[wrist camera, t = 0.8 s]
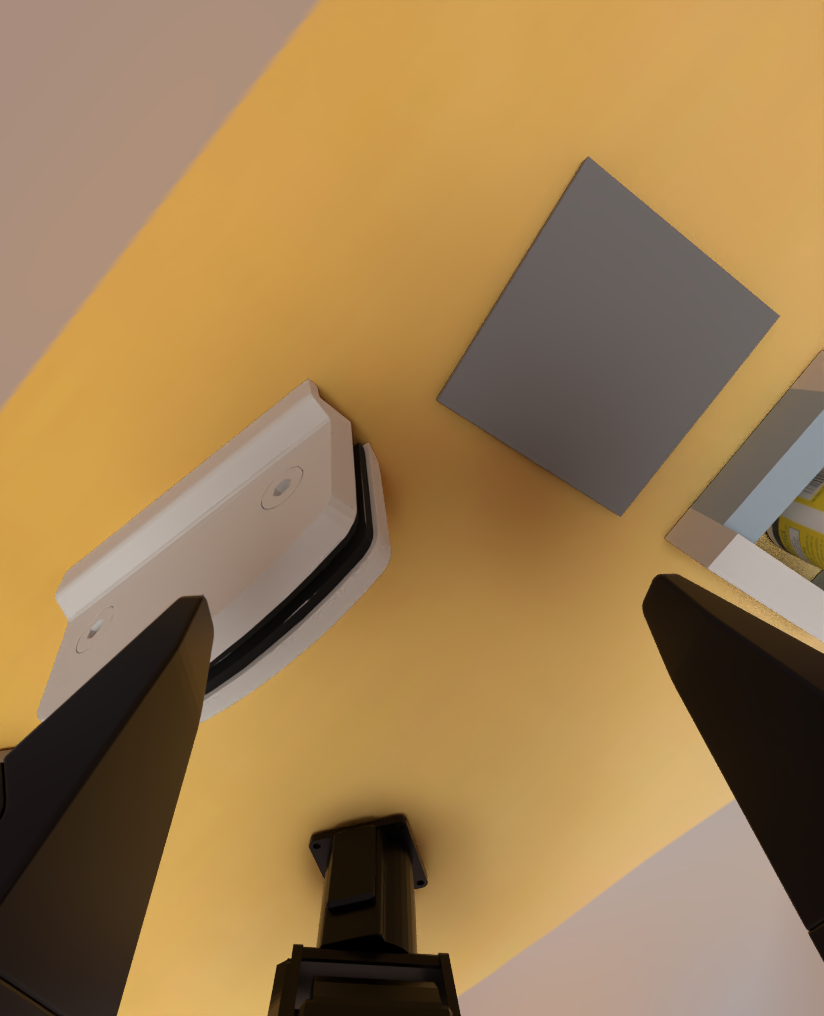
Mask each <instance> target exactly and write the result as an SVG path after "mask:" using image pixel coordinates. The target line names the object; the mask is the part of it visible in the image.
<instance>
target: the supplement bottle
mask: <svg viewBox="0 0 824 1016" xmlns="http://www.w3.org/2000/svg"><path fill="white" fill-rule="evenodd" d="M767 533H768V535H769V537H770V538H771V540H772V541H773V542H774V543H775V544H776V545H777V546H778V547H780V548H781V549H783V550H784V551H786V552H788V553H790V554H792V555H794V556H796V557H798V558H800V559H802V560H804V561H806V562H808V563H810V564H812V565H814V566H816V567H818V568H820V569H822V570H824V467H823V468H822V469H821V471H820V472H819V473H818V474H817V475H816V476H815V477H814V478H813V479H812V480H811V482H810V483H809V484H808V485H807V486H806V487H805V488H804V489H803V490H802V492H801V493H800V494H799V495H798V496H797V497H796V498H795V499H794V500H793V502H792V503H791V504H790V505H789V506H788V507H787V508H786V509H785V510H784V512H783V513H782V514H781V515H780V516H779V517H778V518H777V519H776V520H775V521H774V523H773V524H772V525H771V526H770V527H769V528H768V529H767Z"/></svg>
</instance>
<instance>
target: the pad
mask: <svg viewBox="0 0 824 1016" xmlns="http://www.w3.org/2000/svg"><path fill="white" fill-rule="evenodd" d="M779 317H780V316H779V315H778V314H777V313H776V312H774V311H773V310H772V309H771V308H770V307H768V306H767V305H766V304H765V303H764V302H762V301H761V300H760V299H759V298H758V297H756V296H755V295H754V294H753V293H752V292H750V291H749V290H748V289H747V288H746V287H744V286H743V285H742V284H741V283H740V282H738V281H737V280H736V279H735V278H734V277H732V276H731V275H730V274H729V273H728V272H726V271H725V270H724V269H723V268H722V267H720V266H719V265H718V264H717V263H716V262H714V261H713V260H712V259H711V258H710V257H708V256H707V255H706V254H705V253H704V252H702V251H701V250H700V249H699V248H698V247H696V246H695V245H694V244H693V243H692V242H690V241H689V240H688V239H687V238H686V237H684V236H683V235H682V234H681V233H680V232H678V231H677V230H676V229H675V228H674V227H672V226H671V225H670V224H669V223H668V222H666V221H665V220H664V219H663V218H662V217H660V216H659V215H658V214H657V213H656V212H654V211H653V210H652V209H651V208H650V207H648V206H647V205H646V204H645V203H644V202H642V201H641V200H640V199H639V198H638V197H636V196H635V195H634V194H633V193H632V192H630V191H629V190H628V189H627V188H626V187H624V186H623V185H622V184H621V183H620V182H618V181H617V180H616V179H615V178H614V177H612V176H611V175H610V174H609V173H608V172H606V171H605V170H604V169H603V168H602V167H600V166H599V165H598V164H597V163H596V162H594V161H593V160H592V159H591V158H590V157H587V158H586V159H585V160H584V161H583V162H582V164H581V166H580V167H579V169H578V171H577V172H576V174H575V175H574V177H573V179H572V180H571V182H570V183H569V185H568V187H567V188H566V190H565V192H564V193H563V195H562V196H561V198H560V200H559V201H558V203H557V204H556V206H555V208H554V209H553V211H552V213H551V214H550V216H549V217H548V219H547V221H546V222H545V224H544V226H543V227H542V229H541V230H540V232H539V234H538V235H537V237H536V238H535V240H534V242H533V243H532V245H531V247H530V248H529V250H528V251H527V253H526V255H525V256H524V258H523V260H522V261H521V263H520V264H519V266H518V268H517V269H516V271H515V272H514V274H513V276H512V277H511V279H510V281H509V282H508V284H507V285H506V287H505V289H504V290H503V292H502V294H501V295H500V297H499V298H498V300H497V302H496V303H495V305H494V306H493V308H492V310H491V311H490V313H489V315H488V316H487V318H486V319H485V321H484V323H483V324H482V326H481V328H480V329H479V331H478V332H477V334H476V336H475V337H474V339H473V340H472V342H471V344H470V345H469V347H468V349H467V350H466V352H465V353H464V355H463V357H462V358H461V360H460V362H459V363H458V365H457V366H456V368H455V370H454V371H453V373H452V374H451V376H450V378H449V379H448V381H447V383H446V384H445V386H444V387H443V389H442V391H441V392H440V394H439V396H438V397H437V399H436V400H437V401H439V402H440V403H442V404H443V405H445V406H446V407H448V408H450V409H451V410H453V411H454V412H456V413H457V414H459V415H461V416H462V417H464V418H465V419H467V420H468V421H470V422H472V423H473V424H475V425H476V426H478V427H480V428H481V429H483V430H484V431H486V432H487V433H489V434H491V435H492V436H494V437H495V438H497V439H498V440H500V441H502V442H503V443H505V444H506V445H508V446H510V447H511V448H513V449H514V450H516V451H517V452H519V453H521V454H522V455H524V456H525V457H527V458H528V459H530V460H532V461H533V462H535V463H536V464H538V465H539V466H541V467H543V468H544V469H546V470H547V471H549V472H551V473H552V474H554V475H555V476H557V477H558V478H560V479H562V480H563V481H565V482H566V483H568V484H569V485H571V486H573V487H574V488H576V489H577V490H579V491H580V492H582V493H584V494H585V495H587V496H588V497H590V498H592V499H593V500H595V501H596V502H598V503H599V504H601V505H603V506H604V507H606V508H607V509H609V510H610V511H612V512H614V513H615V514H617V515H618V516H620V517H621V516H622V515H623V513H624V512H625V511H626V509H627V508H628V507H629V506H630V504H631V503H632V502H633V501H634V499H635V498H636V497H637V496H638V494H639V493H640V492H641V491H642V489H643V488H644V487H645V486H646V484H647V483H648V482H649V481H650V479H651V478H652V477H653V475H654V474H655V473H656V472H657V470H658V469H659V468H660V467H661V465H662V464H663V463H664V462H665V460H666V459H667V458H668V457H669V455H670V454H671V453H672V452H673V450H674V449H675V448H676V447H677V445H678V444H679V443H680V441H681V440H682V439H683V438H684V436H685V435H686V434H687V433H688V431H689V430H690V429H691V428H692V426H693V425H694V424H695V423H696V421H697V420H698V419H699V418H700V416H701V415H702V414H703V413H704V411H705V410H706V409H707V408H708V406H709V405H710V404H711V402H712V401H713V400H714V399H715V397H716V396H717V395H718V394H719V392H720V391H721V390H722V389H723V387H724V386H725V385H726V384H727V382H728V381H729V380H730V379H731V377H732V376H733V375H734V374H735V372H736V371H737V370H738V368H739V367H740V366H741V365H742V363H743V362H744V361H745V360H746V358H747V357H748V356H749V355H750V353H751V352H752V351H753V350H754V348H755V347H756V346H757V345H758V343H759V342H760V341H761V340H762V338H763V337H764V336H765V334H766V333H767V332H768V331H769V329H770V328H771V327H772V326H773V324H774V323H775V322H776V321H777V319H778V318H779Z"/></svg>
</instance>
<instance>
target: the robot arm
mask: <svg viewBox="0 0 824 1016" xmlns="http://www.w3.org/2000/svg"><path fill="white" fill-rule="evenodd" d="M642 610H643V614H644V617H645V619H646V621H647V624H648V626H649V628H650V631H651V633H652V636H653V638H654V640H655V643H656V645H657V647H658V650H659V652H660V655H661V657H662V659H663V662H664V664H665V666H666V669H667V671H668V673H669V675H670V678H671V680H672V682H673V684H674V686H675V688H676V690H677V691H678V693H679V695H680V697H681V699H682V701H683V703H684V704H685V706H686V708H687V710H688V712H689V714H690V715H691V717H692V719H693V721H694V723H695V725H696V727H697V728H698V730H699V732H700V734H701V736H702V738H703V739H704V741H705V743H706V745H707V747H708V749H709V751H710V752H711V754H712V756H713V758H714V760H715V762H716V763H717V765H718V767H719V769H720V771H721V773H722V775H723V776H724V778H725V780H726V782H727V784H728V786H729V787H730V789H731V791H732V793H733V795H734V797H735V799H736V800H737V802H738V804H739V806H740V808H741V809H742V811H743V813H744V815H745V817H746V819H747V820H748V822H749V824H750V826H751V828H752V830H753V831H754V834H755V835H756V837H757V839H758V841H759V843H760V845H761V846H762V848H763V850H764V852H765V854H766V855H767V857H768V859H769V861H770V863H771V865H772V867H773V869H774V871H775V872H776V874H777V876H778V878H779V880H780V881H781V883H782V885H783V887H784V889H785V891H786V893H787V894H788V896H789V898H790V900H791V902H792V904H793V906H794V907H795V909H796V911H797V913H798V915H799V917H800V919H801V920H802V922H803V924H804V926H805V927H806V929H807V930H809V931H808V934H809V936H810V938H811V939H812V941H813V943H814V945H815V947H816V949H817V950H818V952H819V954H820V956H821V958H822V960H823V961H824V654H823V653H821V652H820V651H818V650H816V649H814V648H812V647H810V646H809V645H807V644H805V643H803V642H801V641H799V640H798V639H796V638H794V637H792V636H790V635H788V634H787V633H785V632H783V631H781V630H779V629H777V628H776V627H774V626H772V625H770V624H768V623H766V622H765V621H763V620H761V619H759V618H757V617H755V616H754V615H752V614H750V613H748V612H746V611H744V610H743V609H741V608H739V607H737V606H735V605H733V604H732V603H730V602H728V601H726V600H724V599H722V598H721V597H719V596H717V595H715V594H713V593H711V592H710V591H708V590H706V589H704V588H702V587H700V586H699V585H697V584H695V583H693V582H691V581H689V580H688V579H686V578H684V577H682V576H680V575H678V574H659V575H657V576H656V577H654V579H653V580H652V583H651V585H650V587H649V589H648V592H647V594H646V596H645V598H644V601H643V605H642ZM213 640H214V626H213V622H212V618H211V614H210V610H209V606H208V602H207V599H206V598H205V597H204V596H202V595H192V596H182V597H180V598H178V599H177V600H176V601H175V602H174V603H172V604H171V605H170V606H169V607H168V608H167V609H166V610H165V611H164V612H163V613H162V614H160V615H159V616H158V617H157V618H156V619H155V620H154V621H153V622H152V623H151V624H149V625H148V626H147V627H146V628H145V629H144V630H143V631H142V632H141V633H140V634H138V635H137V636H136V637H135V638H134V639H133V640H132V641H131V642H130V643H129V644H127V645H126V646H125V647H124V648H123V649H122V650H121V651H120V652H119V653H118V654H117V655H115V656H114V657H113V658H112V659H111V660H110V661H109V662H108V663H107V664H106V665H104V666H103V667H102V668H101V669H100V670H99V671H98V672H97V673H96V674H95V675H93V676H92V677H91V678H90V679H89V680H88V681H87V682H86V683H85V684H84V685H83V686H81V687H80V688H79V689H78V690H77V691H76V692H75V693H74V694H73V695H72V696H70V697H69V698H68V699H67V700H66V701H65V702H64V703H63V704H62V705H61V706H59V707H58V708H57V709H56V710H55V711H54V712H53V713H52V714H51V715H50V716H48V717H47V718H46V719H45V720H44V721H43V722H42V723H41V724H40V725H39V726H38V727H36V728H35V729H34V730H33V731H32V732H31V733H30V734H29V735H28V736H27V737H25V738H24V739H23V740H22V741H21V742H20V743H19V744H18V745H17V746H16V747H14V748H13V749H12V750H11V751H10V752H9V753H8V754H7V755H6V756H5V757H4V758H3V762H0V1016H117V1013H118V1009H119V1006H120V1002H121V999H122V995H123V992H124V988H125V985H126V981H127V977H128V974H129V970H130V967H131V963H132V960H133V956H134V953H135V949H136V946H137V942H138V939H139V935H140V932H141V928H142V924H143V921H144V917H145V914H146V910H147V907H148V903H149V900H150V896H151V893H152V889H153V886H154V882H155V879H156V875H157V871H158V868H159V864H160V861H161V857H162V854H163V850H164V847H165V843H166V840H167V836H168V833H169V829H170V825H171V822H172V818H173V815H174V811H175V808H176V804H177V801H178V797H179V794H180V790H181V787H182V783H183V780H184V776H185V772H186V769H187V765H188V762H189V758H190V755H191V751H192V748H193V744H194V741H195V737H196V734H197V730H198V726H199V722H200V718H201V713H202V708H203V702H204V696H205V690H206V683H207V677H208V671H209V665H210V658H211V652H212V646H213ZM309 848H310V850H311V852H312V854H313V856H314V859H315V861H316V863H317V865H318V867H319V869H320V871H321V873H322V875H323V877H324V889H323V897H322V905H321V913H320V922H319V930H318V938H317V946H316V948H314V947H303V945H301V944H294V945H293V951H292V958H291V959H290V958H288V959H287V960H286V961H284V962H282V963H280V964H278V965H277V968H276V973H275V979H274V984H273V990H272V995H271V1000H270V1006H269V1011H268V1016H461V1015H460V1010H459V1004H458V999H457V994H456V989H455V984H454V979H453V974H452V969H451V964H450V958H449V954H448V953H439V954H438V955H431V954H417V938H416V916H415V894H414V889H418V888H423V887H425V886H426V885H427V884H428V881H427V874H426V871H425V868H424V865H423V862H422V860H421V857H420V854H419V851H418V849H417V846H416V843H415V840H414V838H413V835H412V832H411V829H410V827H409V824H408V821H407V819H406V818H405V817H404V816H395V817H391V818H387V819H382V820H378V821H374V822H369V823H365V824H360V825H356V826H352V827H347V828H343V829H339V830H334V831H330V832H326V833H321V834H317V835H314V836H312V837H311V839H310V843H309Z"/></svg>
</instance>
